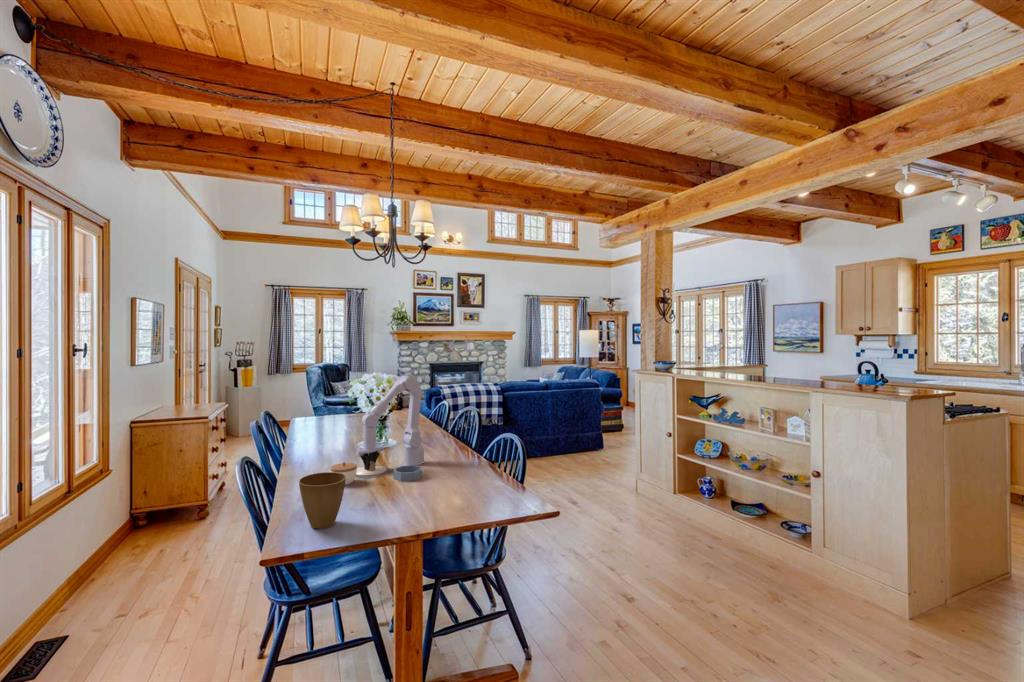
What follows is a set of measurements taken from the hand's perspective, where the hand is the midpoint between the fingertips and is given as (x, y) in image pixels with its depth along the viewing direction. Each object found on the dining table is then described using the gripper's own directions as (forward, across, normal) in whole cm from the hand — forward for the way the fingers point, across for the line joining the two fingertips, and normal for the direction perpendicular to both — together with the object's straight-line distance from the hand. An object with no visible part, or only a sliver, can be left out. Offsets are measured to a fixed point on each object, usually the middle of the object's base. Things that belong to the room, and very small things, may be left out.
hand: (369, 468), depth 226 cm
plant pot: (+2, +50, +37) cm, 62 cm away
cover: (+1, 0, 0) cm, 1 cm away
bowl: (+2, -4, +21) cm, 21 cm away
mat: (+2, 0, 0) cm, 2 cm away
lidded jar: (+2, +18, +5) cm, 19 cm away
